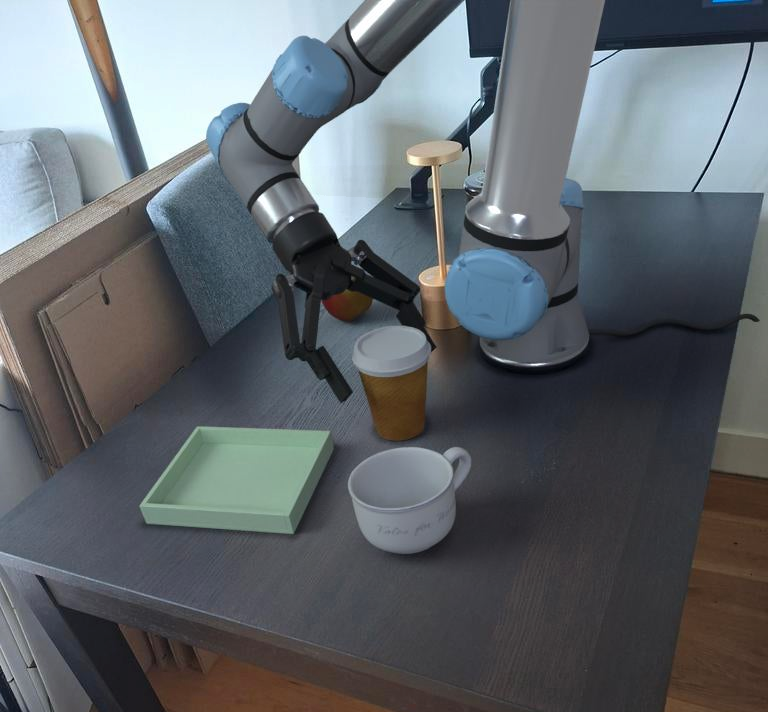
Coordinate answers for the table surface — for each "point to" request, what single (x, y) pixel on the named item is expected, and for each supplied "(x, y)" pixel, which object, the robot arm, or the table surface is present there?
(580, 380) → the table surface
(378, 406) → the disposable coffee cup
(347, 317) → the apple
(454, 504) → the teacup
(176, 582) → the table surface
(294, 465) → the tray
